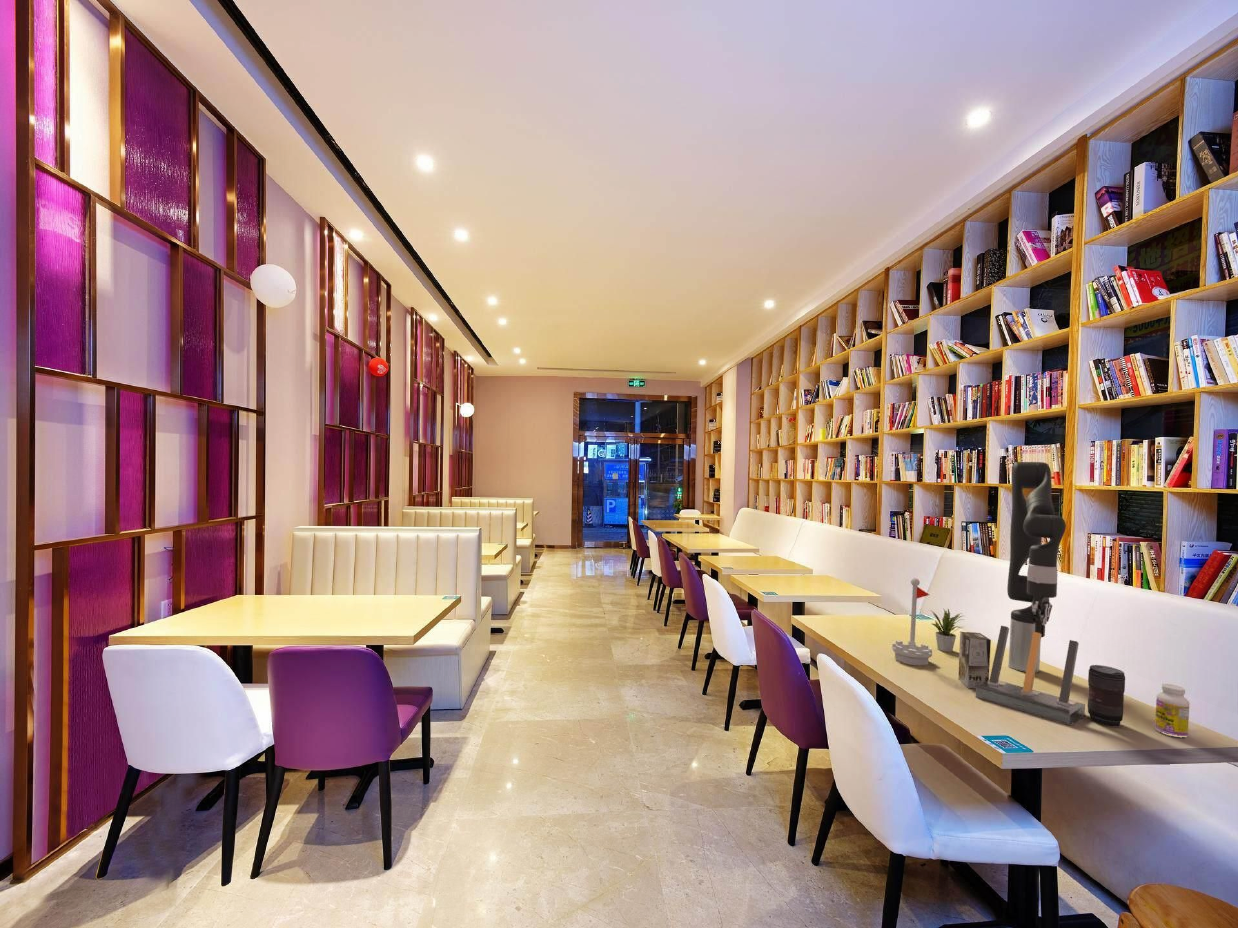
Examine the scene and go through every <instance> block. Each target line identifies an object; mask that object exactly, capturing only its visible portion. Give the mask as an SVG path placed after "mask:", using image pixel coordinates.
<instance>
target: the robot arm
mask: <svg viewBox="0 0 1238 928" xmlns="http://www.w3.org/2000/svg"><path fill="white" fill-rule="evenodd" d="M1051 470H1052V469H1051V468H1050V465H1049V464H1048V463H1046V462H1043V461H1042V462H1041V461H1016V462H1014V463H1013V465H1012V467H1011V501H1012V502H1011V504H1012V505H1011V520H1010V533H1009V534H1010V537H1009V538H1010V541H1009V542H1010V544H1009V546H1010V551H1009V554H1010V555H1009V558H1010V559H1009V567H1008V568H1009V569H1008V576H1007V588H1006V589H1007V596H1008V598H1009V599H1010V600H1011V601H1012V600H1014V601H1016V602H1017V601H1019V602H1025V603H1026V602H1027V603H1031V604H1030V605H1029V606H1027V607H1024V608H1019V609H1013V610H1011V612H1010V628H1009V646H1008V650H1009V651H1008V667H1009V668H1011V669H1012V670H1016V671H1020V672H1024V673H1026V669H1027V663H1028V657H1029V652H1030V646H1031V640H1032V634H1033V632H1037V633H1040V634H1042V636H1041V638H1044V637H1045V636H1046V625H1047V623H1048V622H1049V620H1050V616H1051V612H1052V609H1053V604H1052V603H1051V602H1050V599H1052V598H1053V599H1054V598H1057V596H1058V595H1057V594H1058V568H1057V566H1058V552H1059V548H1060V544H1061V542H1062V539H1063V537H1064V535H1065V531H1066V528H1067V526H1066V525H1067V524H1066V521H1065V519H1064V518H1063V517H1062V516H1061V515H1055V512H1056V511H1055V507H1054V504H1053V499H1052V494H1053V493H1052V488H1053V487H1052V486H1053V484H1052V471H1051ZM1024 489H1031V490H1032V489H1033V490H1032V491H1031V492H1030V493H1029V494H1028V496H1027V497H1026V498H1025V494H1024V493H1023V490H1024ZM1042 538H1043V539H1049V541H1048V542H1046V543H1043V544H1042V541H1043V540H1042ZM1026 561H1028V568H1027V575H1023V574H1022V575H1020V572H1021V569H1022V567H1023V566H1024V565H1025V564H1026ZM1041 641H1042V640H1041ZM1041 641H1040V647H1039V653H1038V659H1037V665H1036V671H1035V674H1036V673H1040V663H1041V647H1042V646H1041Z"/></svg>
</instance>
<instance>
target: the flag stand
mask: <svg viewBox="0 0 1238 928" xmlns="http://www.w3.org/2000/svg"><path fill="white" fill-rule="evenodd" d="M910 583H911V585H912V591H911V593H912V594H911V595H912V597H911V616H910V635H909V637H910V638H909V640H908V641H907V643H904V641H903V640H895V642H894V641H892V643H891V645H892V647H891V648H892V649H891V650H892V651H893V652H894V658H895V660H897V661H898V662H900V663H904V664H907V665H913V666H926V665H929V660H930V659H929V658H931V657H933V656H932V655H933V647H929V645H927V644H924V643H921V644H920V645H917V643H916V622H917V621H916V619H917V603H918V602H917V600H918V599H920V598H924V597H928V596H930V594H929V593H928V592H926V591H925V590H923V589H921V588H920V587H919V585H920V584H921V583H920V580H919V578H915V577H914V578H913V577H912V578H911V579H910Z"/></svg>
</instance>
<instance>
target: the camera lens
mask: <svg viewBox="0 0 1238 928" xmlns="http://www.w3.org/2000/svg"><path fill="white" fill-rule="evenodd" d="M1087 679H1088V680H1087V682H1088V695H1087V696H1088V697H1087V713H1088V715H1089V720H1091V722H1093V723H1096V724H1097V725H1102V726H1105V727H1106V726H1107V727H1110V728H1119V727H1121V722H1122V721H1123V717H1124V707H1125V705H1124V699H1125V698H1124V697H1125V691H1126V690H1125V689H1126V688H1125V687H1126V676H1125V672H1124V671H1123V670H1121V669H1118V668H1116V667H1112V666H1108V665H1101V664H1100V665H1099V664H1092V665H1090V666H1089V669H1088V678H1087Z"/></svg>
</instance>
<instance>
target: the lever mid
mask: <svg viewBox="0 0 1238 928" xmlns="http://www.w3.org/2000/svg"><path fill="white" fill-rule="evenodd" d="M1041 636H1042V634H1040V633H1037V632H1033V634H1032V640H1031V646H1030V652H1029V657H1028V663H1027V669H1026V672H1025V676H1024V681H1023V686H1022V687H1023V690H1021V694H1022V695H1025V696H1029V697H1033V693H1032V690H1033V686H1034V680H1035V677H1036V673H1035V671H1036V665H1037V659H1038V653H1039V647H1040V648H1041V646H1040V641H1042V637H1041Z"/></svg>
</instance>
